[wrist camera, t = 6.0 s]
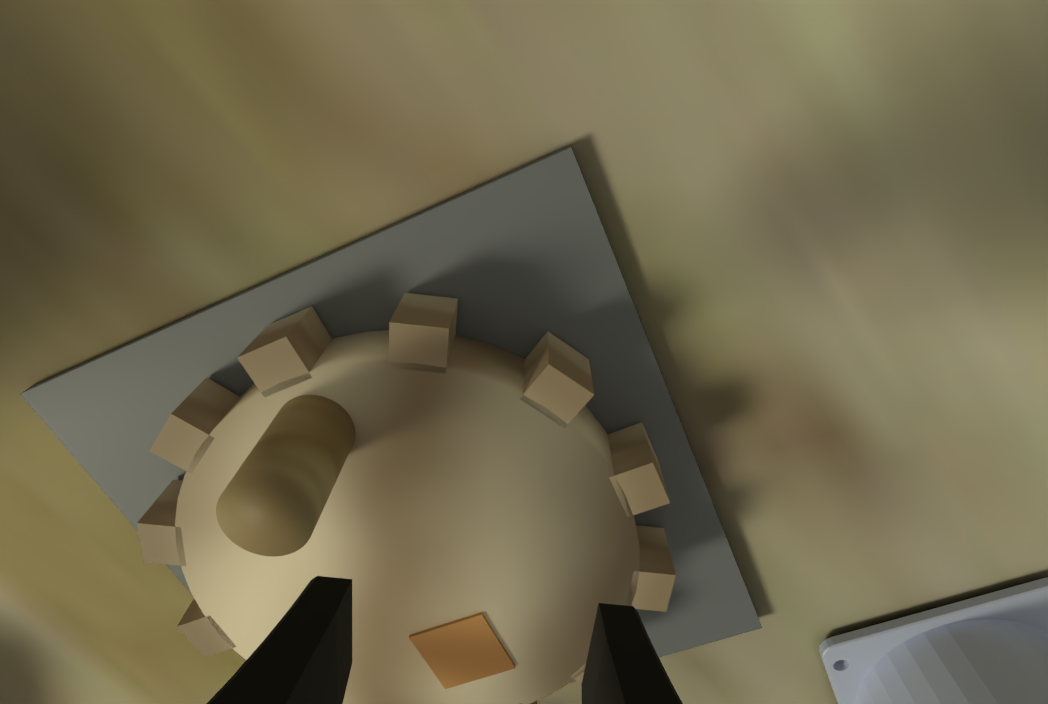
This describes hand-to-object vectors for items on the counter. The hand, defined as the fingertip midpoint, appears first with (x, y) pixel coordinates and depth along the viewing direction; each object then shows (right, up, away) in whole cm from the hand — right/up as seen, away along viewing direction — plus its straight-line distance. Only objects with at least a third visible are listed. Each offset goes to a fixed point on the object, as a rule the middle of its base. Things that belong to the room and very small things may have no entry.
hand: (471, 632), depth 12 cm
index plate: (-2, 0, +9) cm, 10 cm away
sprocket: (-2, 0, +9) cm, 10 cm away
